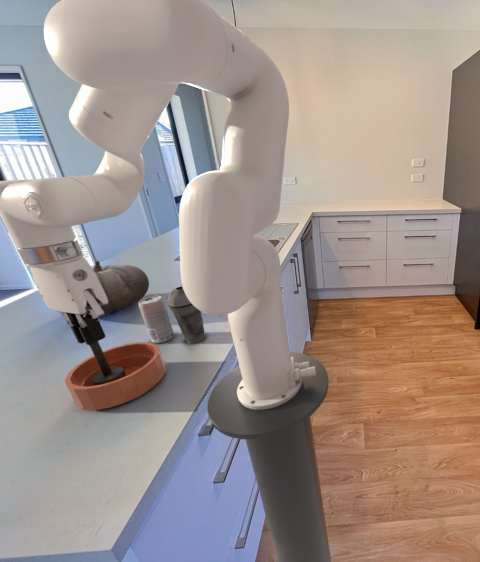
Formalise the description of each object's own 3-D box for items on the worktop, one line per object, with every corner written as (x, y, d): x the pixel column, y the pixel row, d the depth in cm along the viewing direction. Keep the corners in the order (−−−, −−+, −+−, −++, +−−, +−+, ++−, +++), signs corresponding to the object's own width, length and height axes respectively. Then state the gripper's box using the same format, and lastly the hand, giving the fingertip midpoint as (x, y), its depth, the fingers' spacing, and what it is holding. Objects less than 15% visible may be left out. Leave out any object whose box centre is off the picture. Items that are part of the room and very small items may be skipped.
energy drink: (169, 331, 87) (157, 293, 82) (178, 336, 84) (165, 298, 79) (148, 339, 83) (134, 300, 78) (156, 346, 80) (142, 306, 75)
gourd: (96, 324, 86) (71, 266, 82) (38, 329, 93) (12, 275, 88) (170, 295, 110) (154, 249, 105) (120, 301, 116) (102, 258, 112)
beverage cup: (176, 339, 83) (154, 272, 75) (204, 329, 87) (186, 264, 80) (185, 350, 78) (162, 279, 70) (214, 338, 83) (196, 270, 75)
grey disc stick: (131, 371, 67) (104, 308, 61) (118, 387, 62) (89, 321, 56) (104, 375, 66) (74, 312, 60) (89, 392, 61) (56, 325, 55)
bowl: (176, 358, 75) (169, 337, 73) (149, 403, 61) (140, 380, 58) (103, 369, 71) (94, 348, 69) (57, 420, 57) (43, 396, 55)
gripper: (106, 249, 54) (139, 335, 61) (49, 245, 59) (86, 326, 66) (56, 262, 48) (100, 357, 55) (-5, 256, 52) (43, 345, 59)
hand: (92, 339), depth 60 cm, fingers closed on grey disc stick, 1 cm apart
